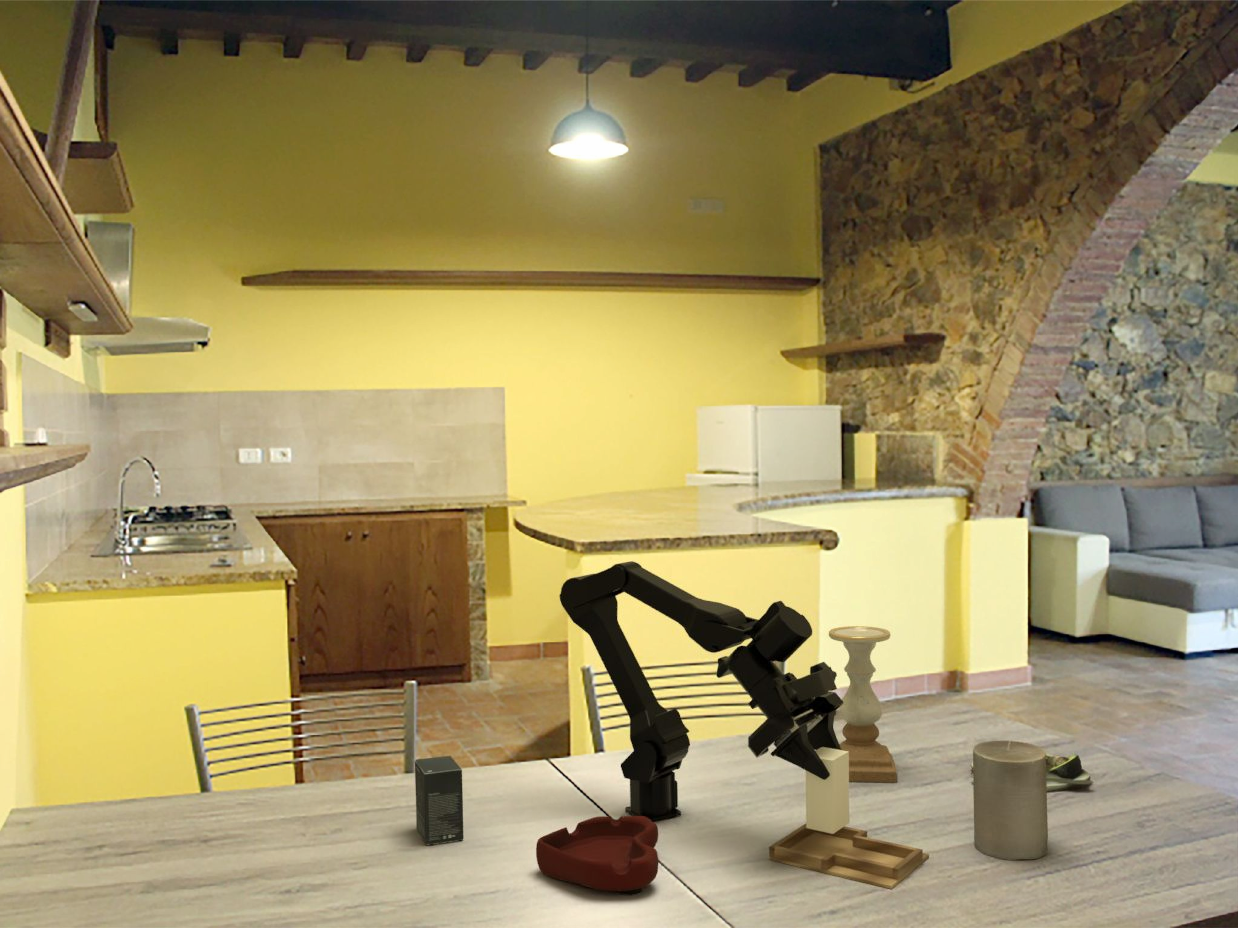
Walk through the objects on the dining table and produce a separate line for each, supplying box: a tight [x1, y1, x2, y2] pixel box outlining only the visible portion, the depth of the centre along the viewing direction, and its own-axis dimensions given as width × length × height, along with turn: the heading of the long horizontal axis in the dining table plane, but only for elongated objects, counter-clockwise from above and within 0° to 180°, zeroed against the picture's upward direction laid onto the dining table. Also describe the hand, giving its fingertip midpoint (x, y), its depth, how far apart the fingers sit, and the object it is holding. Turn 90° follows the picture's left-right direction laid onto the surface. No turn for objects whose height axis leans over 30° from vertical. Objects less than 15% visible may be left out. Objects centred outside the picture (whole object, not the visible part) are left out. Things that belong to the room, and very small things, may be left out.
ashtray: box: [535, 815, 659, 896], centre depth 153 cm, size 18×16×5 cm
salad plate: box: [969, 753, 1094, 792], centre depth 188 cm, size 19×18×5 cm
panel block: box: [805, 747, 850, 834], centre depth 158 cm, size 4×5×10 cm
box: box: [414, 755, 464, 846], centre depth 168 cm, size 8×6×11 cm
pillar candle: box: [972, 740, 1049, 861], centre depth 158 cm, size 10×10×15 cm
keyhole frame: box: [768, 823, 930, 890], centre depth 156 cm, size 18×13×2 cm
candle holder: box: [828, 625, 898, 784], centre depth 193 cm, size 11×11×24 cm
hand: (836, 772), depth 157 cm, fingers closed on panel block, 5 cm apart
